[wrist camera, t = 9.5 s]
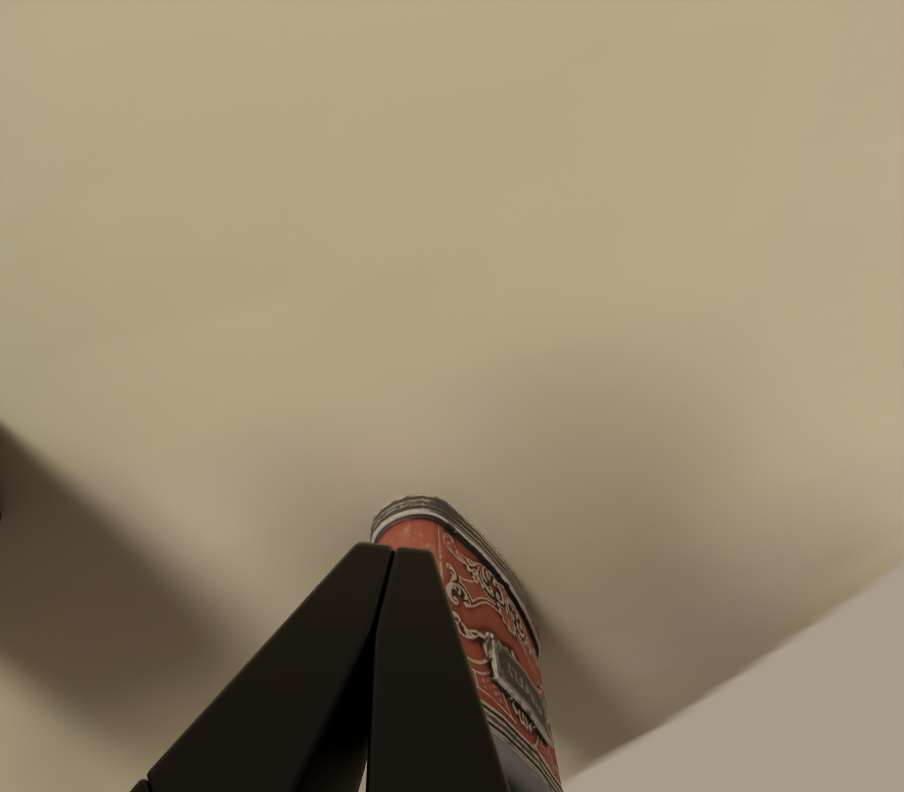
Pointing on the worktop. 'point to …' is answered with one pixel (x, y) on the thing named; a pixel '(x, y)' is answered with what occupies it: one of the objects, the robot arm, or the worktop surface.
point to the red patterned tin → (485, 632)
